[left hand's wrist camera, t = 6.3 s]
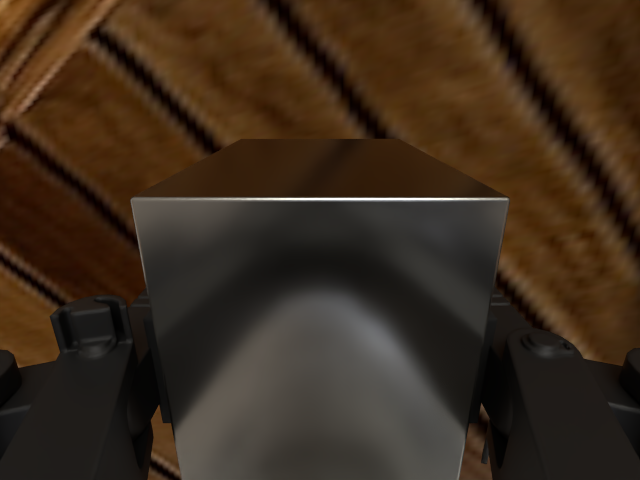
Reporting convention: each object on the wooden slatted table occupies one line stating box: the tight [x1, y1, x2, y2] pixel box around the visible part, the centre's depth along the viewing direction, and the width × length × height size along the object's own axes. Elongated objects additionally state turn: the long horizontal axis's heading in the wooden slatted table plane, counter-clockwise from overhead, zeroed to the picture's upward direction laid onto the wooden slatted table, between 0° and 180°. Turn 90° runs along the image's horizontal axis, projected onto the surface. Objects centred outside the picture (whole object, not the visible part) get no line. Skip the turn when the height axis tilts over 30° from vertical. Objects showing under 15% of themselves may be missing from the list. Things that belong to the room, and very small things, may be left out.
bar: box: [131, 139, 510, 480], centre depth 13 cm, size 22×6×8 cm, turn 0°
